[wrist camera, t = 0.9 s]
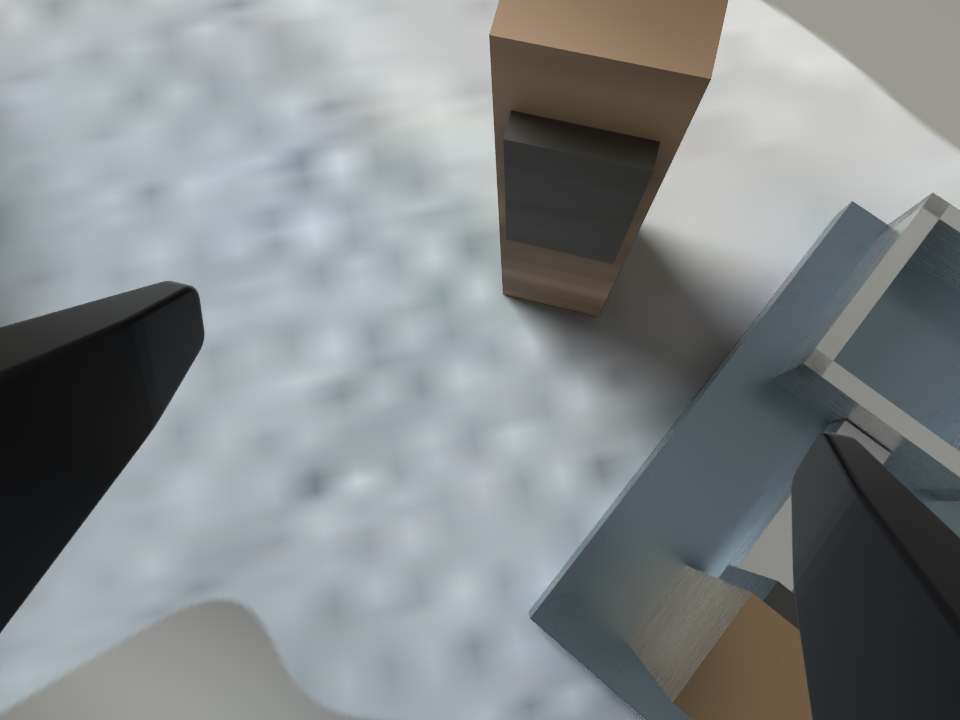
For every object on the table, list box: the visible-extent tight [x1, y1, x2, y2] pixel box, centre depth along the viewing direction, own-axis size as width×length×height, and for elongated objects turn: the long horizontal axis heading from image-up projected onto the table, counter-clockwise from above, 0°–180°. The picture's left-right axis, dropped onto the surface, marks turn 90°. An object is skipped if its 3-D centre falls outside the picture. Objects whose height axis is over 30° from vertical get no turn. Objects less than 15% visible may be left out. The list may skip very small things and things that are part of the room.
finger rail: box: [529, 193, 960, 720], centre depth 19 cm, size 18×9×7 cm, turn 141°
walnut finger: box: [489, 0, 728, 316], centre depth 18 cm, size 5×4×14 cm
